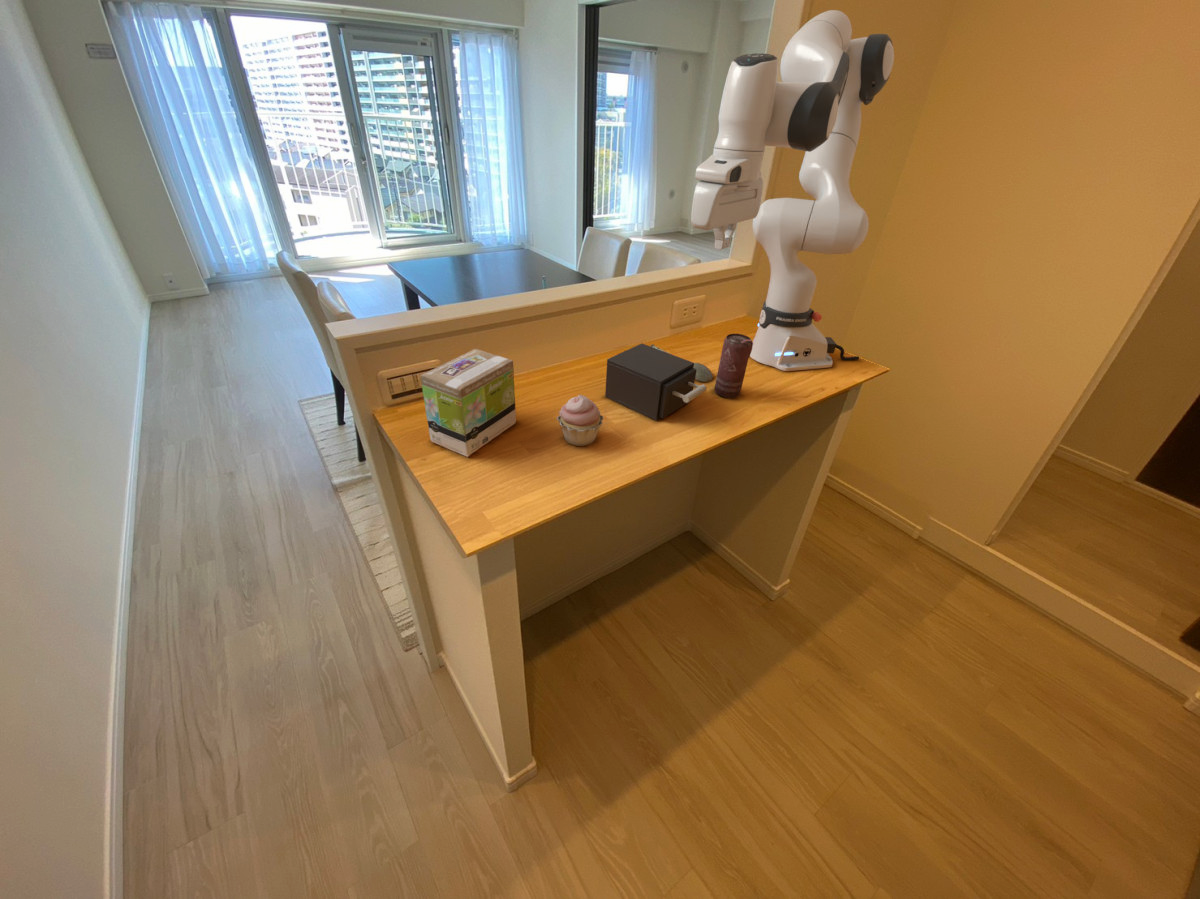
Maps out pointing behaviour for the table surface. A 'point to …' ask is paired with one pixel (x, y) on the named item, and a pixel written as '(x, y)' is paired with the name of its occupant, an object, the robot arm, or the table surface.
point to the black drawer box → (642, 378)
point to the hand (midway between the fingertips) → (721, 248)
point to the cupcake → (580, 421)
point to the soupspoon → (698, 370)
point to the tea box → (469, 400)
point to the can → (733, 365)
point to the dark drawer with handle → (679, 392)
